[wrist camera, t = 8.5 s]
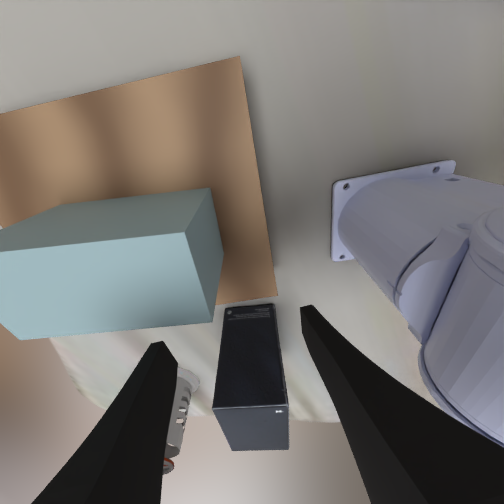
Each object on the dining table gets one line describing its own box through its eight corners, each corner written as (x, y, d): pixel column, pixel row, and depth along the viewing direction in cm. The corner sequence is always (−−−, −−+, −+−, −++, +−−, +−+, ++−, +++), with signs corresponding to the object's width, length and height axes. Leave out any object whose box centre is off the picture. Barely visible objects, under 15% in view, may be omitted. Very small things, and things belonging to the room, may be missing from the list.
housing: (210, 187, 13) (184, 232, 8) (223, 253, 16) (212, 322, 10) (42, 206, 13) (-101, 263, 8) (83, 267, 16) (-3, 342, 10)
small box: (220, 307, 24) (206, 411, 16) (275, 302, 24) (292, 404, 15) (234, 357, 30) (229, 455, 21) (278, 353, 30) (292, 451, 21)
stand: (241, 74, 13) (239, 55, 10) (272, 268, 22) (277, 295, 18) (-6, 132, 15) (-83, 134, 11) (113, 294, 23) (90, 324, 19)
